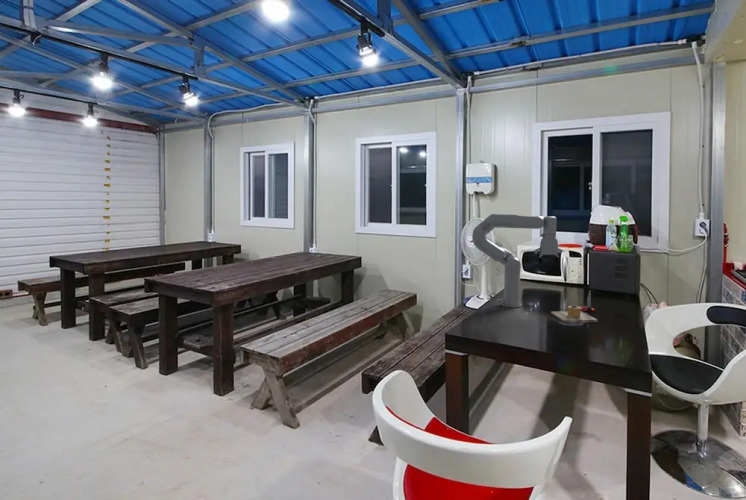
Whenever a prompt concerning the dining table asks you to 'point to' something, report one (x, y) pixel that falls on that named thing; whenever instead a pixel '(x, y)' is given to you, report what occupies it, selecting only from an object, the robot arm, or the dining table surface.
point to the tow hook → (588, 305)
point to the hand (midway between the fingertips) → (547, 263)
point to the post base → (568, 319)
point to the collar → (574, 311)
